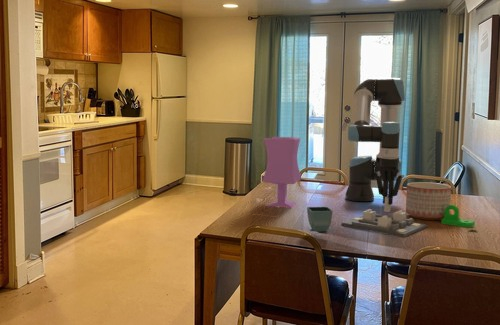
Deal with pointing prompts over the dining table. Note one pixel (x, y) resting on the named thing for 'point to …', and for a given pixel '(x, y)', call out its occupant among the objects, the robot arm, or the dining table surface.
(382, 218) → the tab near
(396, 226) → the switch board
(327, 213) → the flower pot
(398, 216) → the tab far
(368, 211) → the tab middle
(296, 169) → the purple table lamp
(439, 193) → the planter
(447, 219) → the mechanical part
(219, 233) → the dining table surface
